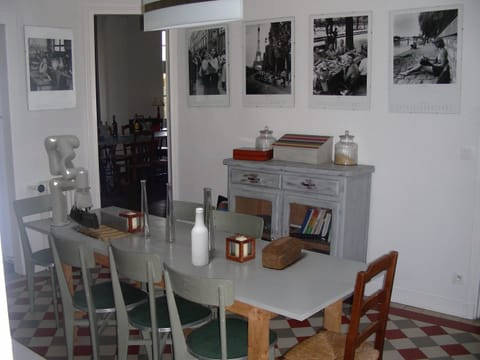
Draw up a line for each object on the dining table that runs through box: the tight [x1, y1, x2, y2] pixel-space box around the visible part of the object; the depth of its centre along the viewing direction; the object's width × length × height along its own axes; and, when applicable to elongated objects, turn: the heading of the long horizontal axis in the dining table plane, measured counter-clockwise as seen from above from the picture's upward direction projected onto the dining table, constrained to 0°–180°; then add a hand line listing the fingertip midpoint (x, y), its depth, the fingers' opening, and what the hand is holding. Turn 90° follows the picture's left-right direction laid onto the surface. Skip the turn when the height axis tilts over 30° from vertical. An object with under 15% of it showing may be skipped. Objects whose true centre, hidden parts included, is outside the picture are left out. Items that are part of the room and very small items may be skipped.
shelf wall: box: [99, 210, 128, 233], centre depth 350 cm, size 30×1×9 cm, turn 45°
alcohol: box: [190, 207, 210, 267], centre depth 286 cm, size 9×9×30 cm
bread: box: [261, 236, 303, 270], centre depth 290 cm, size 14×28×12 cm, turn 149°
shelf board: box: [76, 222, 131, 242], centre depth 346 cm, size 34×18×2 cm, turn 45°
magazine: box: [69, 204, 100, 229], centre depth 335 cm, size 17×3×30 cm
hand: (83, 218), depth 336 cm, fingers closed on magazine, 3 cm apart
